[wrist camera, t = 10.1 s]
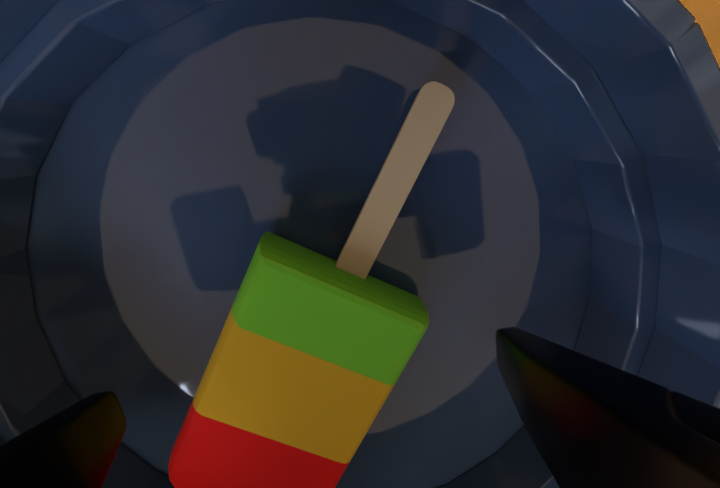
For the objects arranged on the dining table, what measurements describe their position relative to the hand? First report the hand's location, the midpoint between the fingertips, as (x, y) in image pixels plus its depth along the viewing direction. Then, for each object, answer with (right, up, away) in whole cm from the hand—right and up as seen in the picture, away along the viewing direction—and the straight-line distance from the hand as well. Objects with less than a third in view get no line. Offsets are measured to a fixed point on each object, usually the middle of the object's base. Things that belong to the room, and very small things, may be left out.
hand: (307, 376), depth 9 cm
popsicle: (0, +1, +4) cm, 4 cm away
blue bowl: (0, +1, +4) cm, 5 cm away
